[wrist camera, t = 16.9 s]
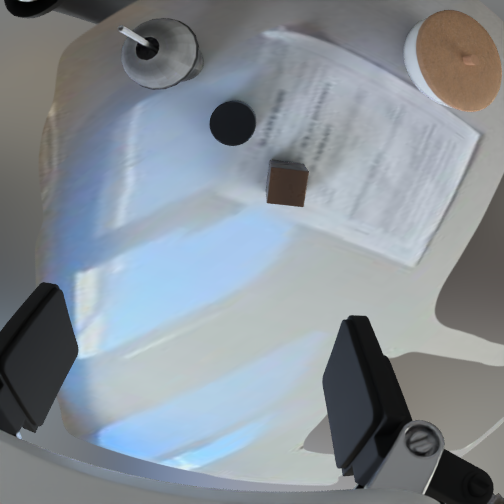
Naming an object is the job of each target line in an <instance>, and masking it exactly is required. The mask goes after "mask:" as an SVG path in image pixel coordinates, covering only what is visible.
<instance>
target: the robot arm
mask: <svg viewBox="0 0 504 504" xmlns="http://www.w3.org/2000/svg"><path fill="white" fill-rule="evenodd" d="M20 1H23V2H33V1H36V0H20ZM77 355H78V345H77V342H76V338H75V335H74V332H73V328H72V325H71V321H70V318H69V314H68V310H67V307H66V303H65V299H64V295H63V292H62V290H60V289H59V287H58V285H56V284H51V283H45V282H43V283H41V284H40V285H39V286H38V287H37V288H36V289H35V291H34V292H33V293H32V294H31V295H30V296H29V298H28V299H27V300H26V301H25V302H24V303H23V305H22V306H21V307H20V308H19V309H18V310H17V312H16V313H15V314H14V315H13V316H12V318H11V319H10V320H9V321H8V322H7V324H6V325H5V326H4V327H3V329H2V330H1V331H0V504H504V498H502V496H501V495H500V494H499V493H498V494H497V495H494V494H493V482H492V480H491V478H490V476H489V475H488V474H487V473H486V472H485V471H483V470H482V469H480V468H478V467H476V466H474V465H472V464H471V463H469V462H467V461H465V460H463V459H461V458H460V457H458V456H456V455H454V454H452V453H451V452H449V451H447V450H445V449H444V445H445V443H444V437H443V435H442V433H441V431H440V430H439V429H438V428H437V427H436V426H435V425H433V424H432V423H430V422H427V421H423V420H415V421H412V418H411V415H410V412H409V410H408V407H407V404H406V402H405V399H404V396H403V394H402V391H401V388H400V386H399V383H398V381H397V379H396V375H395V373H394V370H393V368H392V365H391V363H390V361H389V359H388V357H387V356H385V355H383V353H382V350H381V348H380V345H379V343H378V340H377V338H376V336H375V333H374V331H373V328H372V326H371V324H370V321H369V319H368V317H367V316H354V315H350V316H349V317H348V319H347V320H343V321H342V323H341V326H340V329H339V332H338V335H337V338H336V341H335V344H334V347H333V350H332V352H331V355H330V358H329V361H328V364H327V366H326V369H325V372H324V375H323V390H324V395H325V401H326V406H327V412H328V418H329V423H330V429H331V436H332V441H333V448H334V454H335V460H336V466H337V468H342V473H343V476H351V475H354V478H355V482H356V483H357V484H356V486H355V487H354V489H352V490H351V489H350V490H331V491H311V492H259V491H238V490H224V489H215V488H205V487H197V486H188V485H182V484H176V483H169V482H163V481H158V480H153V479H147V478H143V477H138V476H133V475H129V474H125V473H121V472H117V471H113V470H109V469H105V468H101V467H98V466H95V465H91V464H88V463H85V462H82V461H78V460H75V459H72V458H69V457H66V456H63V455H60V454H57V453H55V452H52V451H49V450H47V449H44V448H41V447H39V446H37V445H34V444H32V443H29V442H27V441H25V440H22V438H21V434H20V429H21V427H23V428H24V429H27V430H29V431H32V432H34V433H36V430H37V428H38V426H41V425H42V424H43V423H44V420H45V418H46V416H47V414H48V412H49V410H50V408H51V406H52V404H53V402H54V400H55V398H56V396H57V394H58V392H59V390H60V388H61V386H62V384H63V382H64V380H65V378H66V376H67V374H68V372H69V370H70V369H71V367H72V365H73V363H74V361H75V359H76V357H77Z"/></svg>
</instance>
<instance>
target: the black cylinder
mask: <svg viewBox="0 0 504 504" xmlns="http://www.w3.org/2000/svg"><path fill="white" fill-rule="evenodd" d="M255 127H256V116H255V113H254V111H253V109H252V108H251V107H250V106H249V105H248V104H246V103H244V102H241V101H230V102H226V103H223V104H221V105H220V106H218V107H217V108H216V109H215V110H214V112H213V113H212V115H211V118H210V129H211V132H212V134H213V136H214V137H215V138H216V139H217V140H218V141H219V142H221V143H222V144H225V145H229V146H236V145H240V144H243V143H245V142H246V141H248V140H249V139H250V138H251V136H252V135H253V133H254V131H255Z"/></svg>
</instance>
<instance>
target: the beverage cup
mask: <svg viewBox="0 0 504 504" xmlns="http://www.w3.org/2000/svg"><path fill="white" fill-rule="evenodd" d="M118 31H119V32H121V33H123V34H125V35H127V36H128V37H127V38H126V40H125V42H124V45H123V48H122V57H121V60H122V63H123V67H124V70H125V71H126V73H127V74H128V76H129V77H130V78H131V79H132V80H133V81H135V82H136V83H138V84H139V85H141V86H142V87H145V88H149V89H153V90H155V89H166V88H169V87H172V86H175V85H177V84H178V83H180V82H183V81H187V80H190V79H192V78H194V77H196V76H197V75H198V74H199V73H200V71H201V69H202V67H203V58H202V55H201V52H200V51H199V45H198V42H197V38H196V35H195V34H194V33H193V31H192V30H191V29H190V27H188V26H187V25H185V24H184V23H182V22H180V21H177V20H173V19H166V18H161V19H152V20H149V21H147V22H145V23H142V24H140V25H139V26H138V27H136V28H135V29H134V30H132V31H131V30H129V29H128V28H126V27H124V26H123V25H121V26H119V27H118Z"/></svg>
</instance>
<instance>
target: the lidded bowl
mask: <svg viewBox="0 0 504 504" xmlns="http://www.w3.org/2000/svg"><path fill="white" fill-rule="evenodd" d="M403 55H404V63H405V67H406V70H407V72H408V74H409V76H410V78H411V80H412V81H413V83H414V84H415V85H416V87H417V88H418V89H419V90H420V91H421V92H422V93H423V94H425V95H426V96H427V97H428V98H430V99H432V100H434V101H435V102H437V103H440V104H442V105H445V106H447V107H452V108H455V109H457V110H462V111H467V112H475V111H480V110H482V109H484V108H486V107H487V106H489V105H490V104H491V103H492V101H493V100H494V99H495V97H496V96H497V93H498V91H499V88H500V84H501V78H502V69H501V61H500V57H499V54H498V51H497V48H496V46H495V44H494V42H493V40H492V38H491V37H490V35H489V34H488V32H487V31H486V30H485V29H484V28H483V27H482V26H481V25H480V24H479V23H478V22H477V21H476V20H474V19H473V18H472V17H470V16H468V15H466V14H464V13H462V12H459V11H454V10H444V11H440V12H437V13H435V14H433V15H431V16H429V17H427V18H425V19H423V20H421V21H420V22H419V23H417V24H416V25H415V26H414V27H413V28H412V29H411V31H410V32H409V34H408V36H407V38H406V41H405V44H404V50H403Z"/></svg>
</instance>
